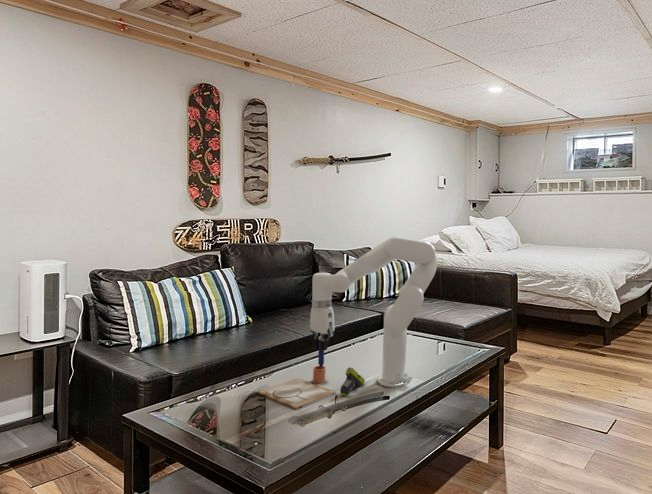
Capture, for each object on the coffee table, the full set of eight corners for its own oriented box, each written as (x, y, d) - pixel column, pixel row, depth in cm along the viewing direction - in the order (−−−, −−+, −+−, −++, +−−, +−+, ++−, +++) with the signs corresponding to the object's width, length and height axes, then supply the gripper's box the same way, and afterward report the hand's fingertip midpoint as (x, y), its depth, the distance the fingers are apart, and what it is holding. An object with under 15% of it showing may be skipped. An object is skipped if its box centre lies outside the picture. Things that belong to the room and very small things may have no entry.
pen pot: (327, 382, 198) (328, 367, 198) (318, 385, 194) (318, 370, 194) (319, 379, 201) (320, 365, 201) (310, 382, 197) (310, 367, 197)
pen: (325, 366, 198) (325, 336, 197) (320, 367, 196) (321, 337, 196) (321, 365, 199) (321, 335, 199) (317, 366, 197) (317, 336, 197)
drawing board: (335, 394, 186) (335, 391, 186) (296, 409, 171) (296, 406, 171) (297, 380, 199) (298, 378, 199) (258, 393, 184) (258, 390, 184)
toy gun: (357, 404, 191) (366, 379, 197) (343, 393, 180) (352, 366, 186) (352, 403, 192) (360, 378, 198) (337, 392, 181) (347, 365, 187)
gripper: (342, 305, 195) (342, 351, 196) (316, 300, 205) (315, 344, 205) (328, 308, 189) (327, 355, 190) (301, 302, 198) (300, 348, 199)
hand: (321, 349), depth 197 cm, fingers closed on pen, 2 cm apart
